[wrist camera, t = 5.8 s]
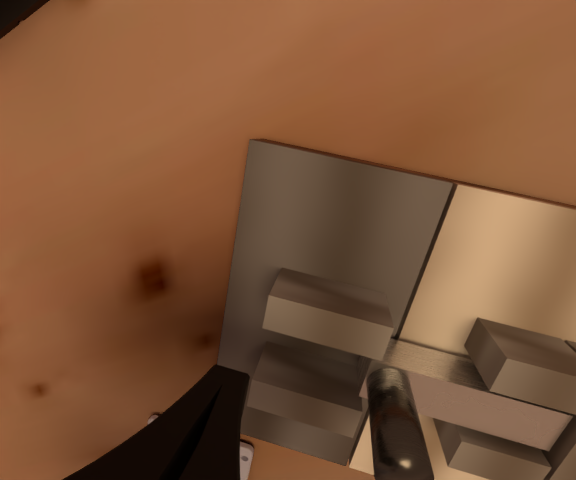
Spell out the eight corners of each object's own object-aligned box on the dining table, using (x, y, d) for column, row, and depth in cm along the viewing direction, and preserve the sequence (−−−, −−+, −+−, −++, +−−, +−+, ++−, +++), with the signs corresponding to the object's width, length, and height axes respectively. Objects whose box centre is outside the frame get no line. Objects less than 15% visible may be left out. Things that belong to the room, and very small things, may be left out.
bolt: (357, 365, 16) (363, 486, 10) (368, 332, 15) (381, 444, 10) (523, 411, 15) (624, 569, 9) (543, 379, 14) (664, 529, 9)
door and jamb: (222, 394, 21) (187, 468, 17) (262, 138, 16) (226, 140, 11) (492, 476, 20) (539, 584, 15) (652, 222, 14) (812, 268, 9)
